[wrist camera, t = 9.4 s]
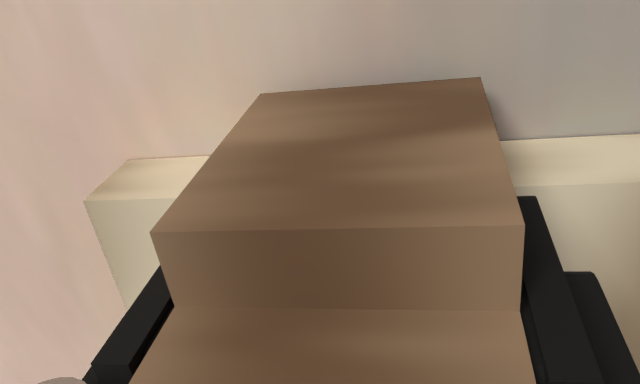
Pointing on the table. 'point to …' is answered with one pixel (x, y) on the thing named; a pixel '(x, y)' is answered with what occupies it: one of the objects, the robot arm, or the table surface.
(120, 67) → the table surface
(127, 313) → the robot arm
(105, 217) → the maple board
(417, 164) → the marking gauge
